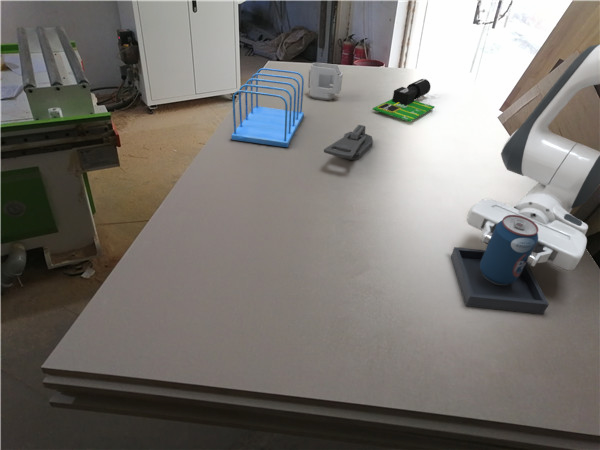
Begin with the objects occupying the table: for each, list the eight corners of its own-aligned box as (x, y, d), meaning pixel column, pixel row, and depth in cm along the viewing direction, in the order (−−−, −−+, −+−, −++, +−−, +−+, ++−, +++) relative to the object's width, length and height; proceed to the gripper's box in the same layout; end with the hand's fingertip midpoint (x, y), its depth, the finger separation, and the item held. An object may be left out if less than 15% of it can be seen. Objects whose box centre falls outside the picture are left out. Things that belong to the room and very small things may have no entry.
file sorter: (287, 148, 119) (288, 97, 110) (231, 141, 122) (228, 90, 112) (303, 117, 139) (306, 71, 130) (255, 111, 141) (254, 65, 132)
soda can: (515, 292, 73) (542, 242, 66) (475, 279, 75) (497, 229, 68) (517, 269, 78) (542, 219, 71) (479, 257, 80) (500, 208, 73)
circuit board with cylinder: (413, 105, 133) (374, 93, 141) (409, 125, 137) (371, 112, 145) (451, 85, 152) (415, 76, 159) (446, 103, 156) (411, 93, 164)
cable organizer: (337, 103, 151) (341, 70, 144) (305, 98, 153) (307, 65, 146) (340, 97, 156) (344, 65, 149) (309, 92, 159) (311, 61, 151)
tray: (517, 263, 83) (522, 253, 81) (543, 314, 72) (549, 304, 70) (450, 256, 84) (454, 246, 82) (465, 306, 73) (470, 296, 71)
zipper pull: (320, 149, 105) (349, 116, 124) (318, 171, 109) (347, 136, 128) (353, 156, 103) (378, 122, 121) (350, 179, 107) (374, 142, 125)
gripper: (488, 185, 84) (458, 211, 76) (598, 229, 73) (577, 265, 65) (479, 209, 88) (449, 237, 79) (582, 255, 77) (560, 292, 69)
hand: (507, 250), depth 72 cm, fingers closed on soda can, 7 cm apart
